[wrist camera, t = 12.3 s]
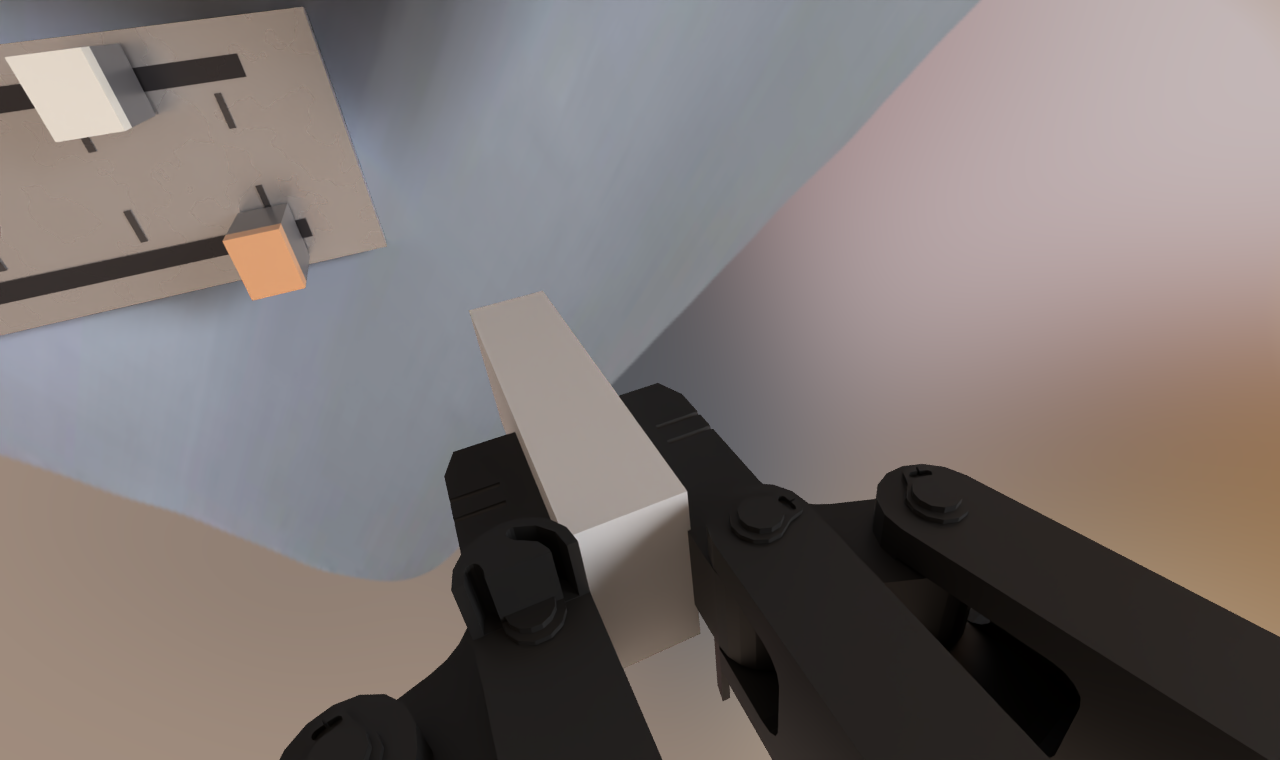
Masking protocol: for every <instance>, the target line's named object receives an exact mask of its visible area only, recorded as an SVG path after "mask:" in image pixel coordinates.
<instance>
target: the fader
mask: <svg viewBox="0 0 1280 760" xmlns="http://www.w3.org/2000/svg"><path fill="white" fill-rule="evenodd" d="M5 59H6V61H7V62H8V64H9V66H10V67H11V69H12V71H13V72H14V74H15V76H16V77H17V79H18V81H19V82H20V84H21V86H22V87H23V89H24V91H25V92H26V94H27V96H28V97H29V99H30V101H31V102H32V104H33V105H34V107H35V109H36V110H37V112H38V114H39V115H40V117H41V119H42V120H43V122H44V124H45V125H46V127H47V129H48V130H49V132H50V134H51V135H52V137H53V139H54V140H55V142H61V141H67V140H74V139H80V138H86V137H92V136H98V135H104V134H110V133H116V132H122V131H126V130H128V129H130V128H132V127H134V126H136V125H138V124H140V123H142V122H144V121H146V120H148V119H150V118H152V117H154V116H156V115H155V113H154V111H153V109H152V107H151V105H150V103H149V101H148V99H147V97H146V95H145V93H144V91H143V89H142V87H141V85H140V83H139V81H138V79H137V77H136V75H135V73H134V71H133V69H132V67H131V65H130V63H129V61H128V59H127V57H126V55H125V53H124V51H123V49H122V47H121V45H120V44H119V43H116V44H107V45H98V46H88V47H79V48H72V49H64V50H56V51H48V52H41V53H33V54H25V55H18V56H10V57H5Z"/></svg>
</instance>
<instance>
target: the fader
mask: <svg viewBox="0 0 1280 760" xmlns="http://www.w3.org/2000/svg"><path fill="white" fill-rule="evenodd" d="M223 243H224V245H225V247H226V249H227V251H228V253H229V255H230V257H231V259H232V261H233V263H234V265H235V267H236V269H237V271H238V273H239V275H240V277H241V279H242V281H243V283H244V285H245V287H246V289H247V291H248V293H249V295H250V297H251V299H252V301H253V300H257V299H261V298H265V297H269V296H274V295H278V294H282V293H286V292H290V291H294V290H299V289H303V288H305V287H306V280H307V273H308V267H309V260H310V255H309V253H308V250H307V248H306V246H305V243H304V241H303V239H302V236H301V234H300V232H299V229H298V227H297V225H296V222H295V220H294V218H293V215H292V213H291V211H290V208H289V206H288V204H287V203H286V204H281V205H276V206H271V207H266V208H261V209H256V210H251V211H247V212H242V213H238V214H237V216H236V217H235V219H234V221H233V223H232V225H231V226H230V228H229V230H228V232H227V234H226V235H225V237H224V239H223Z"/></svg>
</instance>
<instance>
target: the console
mask: <svg viewBox="0 0 1280 760" xmlns="http://www.w3.org/2000/svg"><path fill="white" fill-rule="evenodd" d="M116 43H119V44H120V45H121V47H122V49H123V51H124V53H125V55H126V57H127V59H128V61H129V63H130V65H131V67H132V69H133V71H134V73H135V75H136V77H137V79H138V81H139V83H140V85H141V87H142V89H143V91H144V93H145V95H146V97H147V99H148V101H149V103H150V105H151V107H152V109H153V111H154V113H155V115H156V116H154V117H152V118H150V119H148V120H146V121H144V122H142V123H140V124H138V125H136V126H134V127H132V128H130V129H128V130H126V131H122V132H116V133H110V134H104V135H98V136H92V137H86V138H80V139H74V140H67V141H61V142H55V140H54V139H53V137H52V135H51V134H50V132H49V130H48V129H47V127H46V125H45V124H44V122H43V120H42V119H41V117H40V115H39V114H38V112H37V110H36V109H35V107H34V105H33V104H32V102H31V101H30V99H29V97H28V96H27V94H26V92H25V91H24V89H23V87H22V86H21V84H20V82H19V81H18V79H17V77H16V76H15V74H14V72H13V71H12V69H11V67H10V66H9V64H8V62H7V61H6V59H5V57H10V56H18V55H25V54H33V53H41V52H48V51H56V50H64V49H72V48H79V47H88V46H98V45H107V44H116ZM286 203H287V204H288V206H289V208H290V211H291V213H292V215H293V218H294V220H295V222H296V225H297V227H298V229H299V232H300V234H301V236H302V239H303V241H304V243H305V246H306V248H307V250H308V253H309V255H310V260H309V264H312V263H317V262H321V261H325V260H330V259H334V258H338V257H343V256H347V255H351V254H356V253H360V252H364V251H369V250H373V249H377V248H382V247H386V246H387V244H386V238H385V234H384V232H383V229H382V226H381V223H380V220H379V217H378V215H377V212H376V209H375V206H374V203H373V200H372V197H371V195H370V192H369V189H368V186H367V183H366V180H365V177H364V175H363V172H362V169H361V166H360V163H359V160H358V157H357V155H356V152H355V149H354V146H353V143H352V140H351V138H350V135H349V132H348V129H347V126H346V123H345V120H344V118H343V115H342V112H341V109H340V106H339V103H338V100H337V98H336V95H335V92H334V89H333V86H332V83H331V81H330V78H329V75H328V72H327V69H326V66H325V63H324V61H323V58H322V55H321V52H320V49H319V46H318V43H317V41H316V38H315V35H314V32H313V29H312V26H311V23H310V21H309V18H308V15H307V12H306V9H305V7H296V8H288V9H280V10H272V11H264V12H256V13H248V14H240V15H232V16H224V17H216V18H208V19H200V20H192V21H184V22H176V23H168V24H160V25H152V26H144V27H136V28H128V29H120V30H112V31H104V32H96V33H88V34H80V35H72V36H64V37H56V38H48V39H40V40H32V41H24V42H16V43H8V44H0V335H4V334H9V333H13V332H18V331H22V330H26V329H31V328H35V327H39V326H44V325H48V324H52V323H57V322H61V321H65V320H70V319H74V318H78V317H83V316H87V315H91V314H96V313H100V312H104V311H109V310H113V309H117V308H122V307H126V306H130V305H135V304H139V303H143V302H148V301H152V300H156V299H161V298H165V297H169V296H174V295H178V294H182V293H187V292H191V291H195V290H200V289H204V288H208V287H213V286H217V285H221V284H226V283H230V282H234V281H239V280H242V279H241V277H240V275H239V273H238V271H237V269H236V267H235V265H234V263H233V261H232V259H231V257H230V255H229V253H228V251H227V249H226V247H225V245H224V243H223V239H224V237H225V235H226V234H227V232H228V230H229V228H230V226H231V225H232V223H233V221H234V219H235V217H236V216H237V214H238V213H242V212H247V211H251V210H256V209H261V208H266V207H271V206H276V205H281V204H286Z"/></svg>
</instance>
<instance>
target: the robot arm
mask: <svg viewBox="0 0 1280 760" xmlns="http://www.w3.org/2000/svg"><path fill="white" fill-rule="evenodd" d="M469 312H470V316H471V319H472V322H473V326H474V329H475V333H476V336H477V339H478V343H479V346H480V350H481V353H482V356H483V360H484V363H485V367H486V370H487V374H488V377H489V380H490V384H491V387H492V391H493V394H494V397H495V401H496V404H497V408H498V411H499V414H500V418H501V421H502V424H503V427H504V429H505V432H506V434H507V435H504V436H501V437H498V438H495V439H492V440H488V441H485V442H482V443H479V444H476V445H473V446H470V447H467V448H464V449H461V450H458V451H455V452H453V455H452V457H451V460H450V463H449V465H448V468H447V471H446V473H445V476H444V477H445V481H446V486H447V491H448V495H449V500H450V503H451V504H450V505H451V509H452V514H453V519H454V522H455V528H456V533H457V537H458V542H459V547H460V551H461V556H460V558H459V560H458V561H457V563H456V565H455V567H454V569H453V574H452V588H451V591H452V593H453V595H454V598H455V600H456V602H457V605H458V607H459V609H460V612H461V614H462V616H463V619H464V621H465V623H466V626H467V629H466V632H465V633H464V636H463V638H462V639H461V641H460V643H459V645H458V646H457V647H456V649H455V650H454V651H453V653H452V654H451V655H450V656H449V658H448V659H447V660H446V661H445V662H444V663H443V664H442V665H440V666H439V667H438V668H437V669H436V670H435V671H434V672H433V673H432V674H430V675H429V676H428V677H427V678H425V679H424V680H422V681H421V682H420V683H418V684H417V685H416V686H415V687H413V688H412V689H411V690H409V691H408V692H407V693H405V694H404V695H403V696H401V697H400V698H399V699H397V700H396V699H393V698H392V697H389V696H387V695H385V694H376V695H358V696H356V697H353V698H351V699H348V700H345V701H343V702H340V703H338V704H335V705H333V706H331V707H330V708H329V709H327V710H326V711H324V712H323V713H322V714H320V715H319V716H317V717H316V718H315V719H313V720H312V721H311V722H309V723H308V724H307V725H306V726H305V727H304V728H303V729H302V730H301V731H300V733H299V734H298V735H297V736H296V738H295V739H294V740H293V741H292V742H291V743H290V744H289V746H288V747H287V748H286V749H285V750H284V752H283V754H282V756H281V758H280V760H662V758H661V756H660V754H659V751H658V749H657V746H656V744H655V742H654V740H653V737H652V735H651V733H650V730H649V728H648V726H647V723H646V721H645V719H644V716H643V714H642V712H641V709H640V707H639V705H638V703H637V700H636V698H635V695H634V693H633V690H632V688H631V686H630V683H629V681H628V679H627V677H626V674H625V672H624V670H623V669H624V668H626V667H628V666H630V665H632V664H634V663H637V662H639V661H641V660H643V659H646V658H648V657H650V656H652V655H654V654H656V653H659V652H661V651H663V650H665V649H667V648H670V647H672V646H674V645H676V644H678V643H681V642H683V641H685V640H687V639H689V638H692V637H694V636H696V635H698V634H700V624H699V613H698V611H699V612H700V614H701V616H702V617H703V619H704V621H705V623H706V624H707V626H708V628H709V629H710V631H711V633H712V634H713V636H714V641H715V655H716V669H717V682H718V687H719V691H720V694H721V696H722V700H723V701H724V700H726V699H728V698H730V689H729V685H730V686H731V688H732V690H733V692H734V693H735V695H736V697H737V699H738V700H739V702H740V704H741V706H742V707H743V709H744V711H745V713H746V714H747V716H748V718H749V720H750V721H751V723H752V725H753V726H754V728H755V730H756V732H757V733H758V735H759V737H760V739H761V741H762V742H763V744H764V746H765V748H766V749H767V751H768V753H769V755H770V756H771V758H772V760H1280V637H1279V636H1277V635H1275V634H1273V633H1271V632H1269V631H1267V630H1265V629H1263V628H1261V627H1259V626H1257V625H1255V624H1254V623H1251V622H1250V621H1248V620H1246V619H1244V618H1242V617H1240V616H1238V615H1236V614H1234V613H1232V612H1230V611H1228V610H1227V609H1225V608H1223V607H1221V606H1219V605H1217V604H1215V603H1213V602H1211V601H1209V600H1207V599H1205V598H1203V597H1201V596H1199V595H1197V594H1195V593H1194V592H1191V591H1190V590H1188V589H1186V588H1184V587H1182V586H1180V585H1178V584H1176V583H1174V582H1172V581H1170V580H1168V579H1166V578H1164V577H1162V576H1161V575H1159V574H1157V573H1155V572H1153V571H1151V570H1149V569H1147V568H1145V567H1143V566H1141V565H1139V564H1137V563H1135V562H1133V561H1132V560H1130V559H1128V558H1126V557H1124V556H1122V555H1120V554H1118V553H1116V552H1114V551H1112V550H1110V549H1108V548H1106V547H1104V546H1102V545H1100V544H1099V543H1097V542H1095V541H1093V540H1091V539H1089V538H1087V537H1085V536H1083V535H1081V534H1079V533H1077V532H1075V531H1073V530H1071V529H1069V528H1067V527H1066V526H1064V525H1062V524H1060V523H1058V522H1056V521H1054V520H1052V519H1050V518H1048V517H1046V516H1044V515H1042V514H1040V513H1038V512H1037V511H1034V510H1033V509H1031V508H1029V507H1027V506H1025V505H1023V504H1021V503H1019V502H1017V501H1015V500H1013V499H1011V498H1009V497H1007V496H1005V495H1004V494H1001V493H1000V492H998V491H996V490H994V489H992V488H990V487H988V486H986V485H984V484H982V483H980V482H978V481H976V480H974V479H973V478H971V477H969V476H967V475H964V474H962V473H959V472H956V471H954V470H951V469H948V468H946V467H941V466H933V465H926V464H918V465H909V466H902V467H900V468H898V469H895V470H893V471H891V472H889V473H887V474H886V475H885V476H884V478H883V479H882V480H881V482H880V483H879V484H878V487H877V494H876V499H872V500H863V501H854V502H845V503H837V504H808V503H807V502H805V500H803V499H802V498H800V497H799V496H798V495H796V494H795V493H794V492H792V491H790V490H787V489H784V488H781V487H778V486H775V485H770V484H769V485H768V484H762V483H761V482H760V481H759V480H758V479H757V478H756V477H755V476H754V474H753V473H752V472H751V471H750V470H749V469H748V468H747V466H745V464H744V463H743V462H742V461H741V460H740V459H739V458H738V456H737V455H736V454H735V453H734V452H733V451H732V450H731V449H730V447H729V446H728V445H727V444H726V443H725V442H724V441H723V440H722V438H721V437H720V436H719V435H718V434H717V433H716V432H715V431H714V429H710V425H709V424H708V423H707V422H706V421H705V419H704V418H703V417H702V416H701V415H698V413H697V410H696V409H695V408H694V407H693V406H692V405H691V404H690V403H689V402H688V400H687V399H686V398H685V397H684V396H683V395H682V394H680V393H678V392H676V391H674V390H672V389H670V388H668V387H665V386H663V385H661V384H659V383H656V384H654V385H650V386H648V387H644V388H641V389H638V390H635V391H632V392H629V393H626V394H623V395H620V396H618V395H617V393H616V392H615V391H614V389H613V388H612V386H611V385H610V383H609V382H608V381H607V379H606V378H605V377H604V375H603V374H602V372H601V371H600V370H599V368H598V367H597V365H596V364H595V363H594V361H593V360H592V359H591V357H590V356H589V354H588V353H587V352H586V350H585V349H584V347H583V346H582V345H581V343H580V342H579V340H578V339H577V338H576V336H575V335H574V334H573V332H572V331H571V329H570V328H569V327H568V325H567V324H566V322H565V321H564V320H563V318H562V317H561V316H560V314H559V313H558V311H557V310H556V309H555V307H554V306H553V304H552V303H551V302H550V300H549V299H548V297H547V296H546V295H545V293H544V292H543V291H541V292H537V293H533V294H529V295H526V296H522V297H518V298H514V299H511V300H507V301H503V302H499V303H496V304H492V305H488V306H484V307H481V308H477V309H473V310H469Z"/></svg>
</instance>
